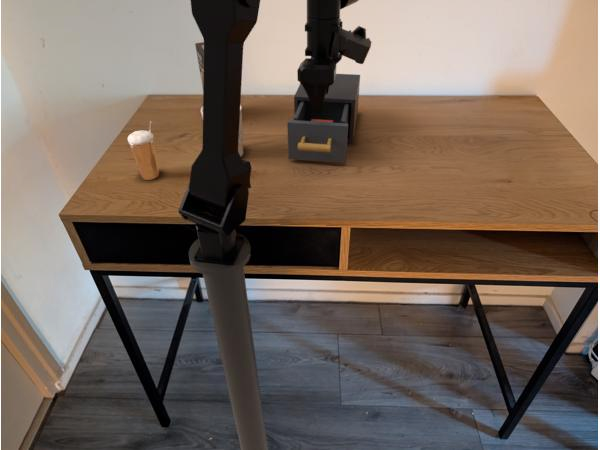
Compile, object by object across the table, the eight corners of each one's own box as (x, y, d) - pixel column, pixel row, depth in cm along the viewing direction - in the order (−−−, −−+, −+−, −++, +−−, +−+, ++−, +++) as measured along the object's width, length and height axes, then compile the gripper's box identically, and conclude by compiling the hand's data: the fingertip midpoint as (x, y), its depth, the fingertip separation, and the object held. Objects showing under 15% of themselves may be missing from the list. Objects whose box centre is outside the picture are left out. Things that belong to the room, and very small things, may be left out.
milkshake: (170, 171, 85) (159, 124, 78) (150, 184, 81) (137, 136, 75) (154, 165, 86) (141, 118, 80) (133, 178, 83) (119, 130, 77)
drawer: (343, 174, 81) (345, 136, 76) (284, 169, 83) (282, 132, 78) (351, 132, 95) (353, 97, 90) (300, 128, 96) (299, 94, 92)
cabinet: (352, 142, 93) (355, 99, 87) (295, 138, 95) (293, 96, 89) (357, 114, 104) (360, 74, 98) (305, 111, 106) (305, 72, 100)
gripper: (367, 31, 66) (360, 126, 76) (372, 4, 80) (366, 87, 90) (295, 29, 67) (297, 122, 77) (313, 3, 82) (313, 84, 92)
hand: (321, 102), depth 84 cm, fingers open, 9 cm apart
